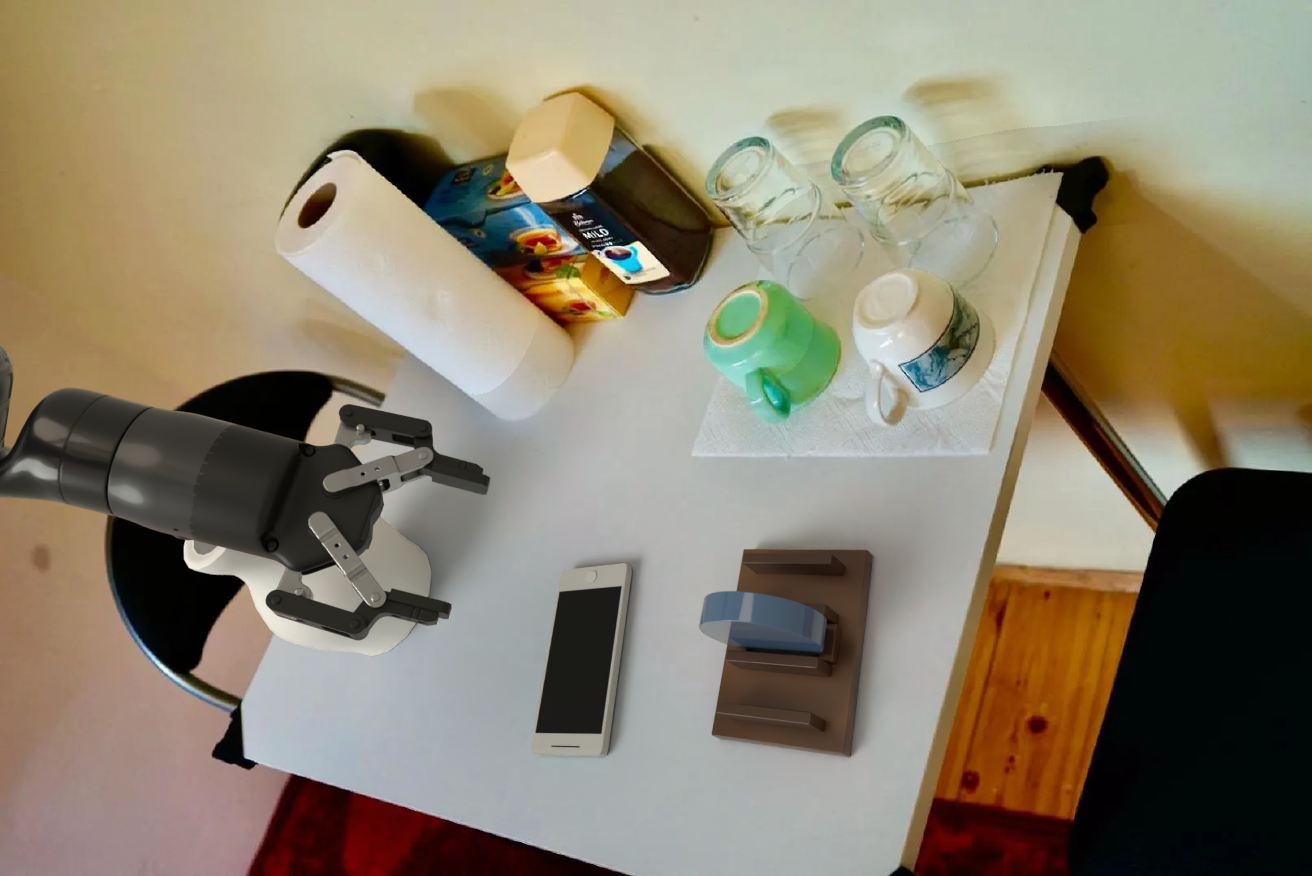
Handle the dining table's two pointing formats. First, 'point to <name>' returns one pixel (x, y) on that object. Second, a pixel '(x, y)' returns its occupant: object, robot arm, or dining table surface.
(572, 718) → the smartphone
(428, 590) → the vase
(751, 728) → the rack
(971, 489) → the dining table surface
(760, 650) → the disc
